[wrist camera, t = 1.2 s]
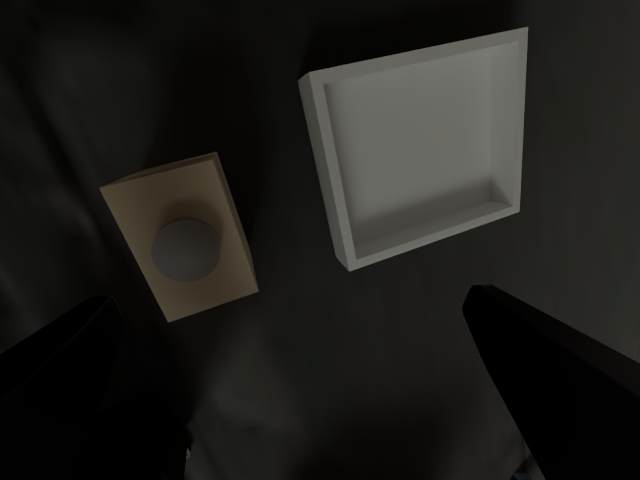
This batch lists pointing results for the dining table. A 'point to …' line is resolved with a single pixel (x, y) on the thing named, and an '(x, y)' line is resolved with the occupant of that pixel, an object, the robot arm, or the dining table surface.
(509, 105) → the housing tray
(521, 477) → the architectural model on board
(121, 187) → the brown block
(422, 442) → the dining table surface
